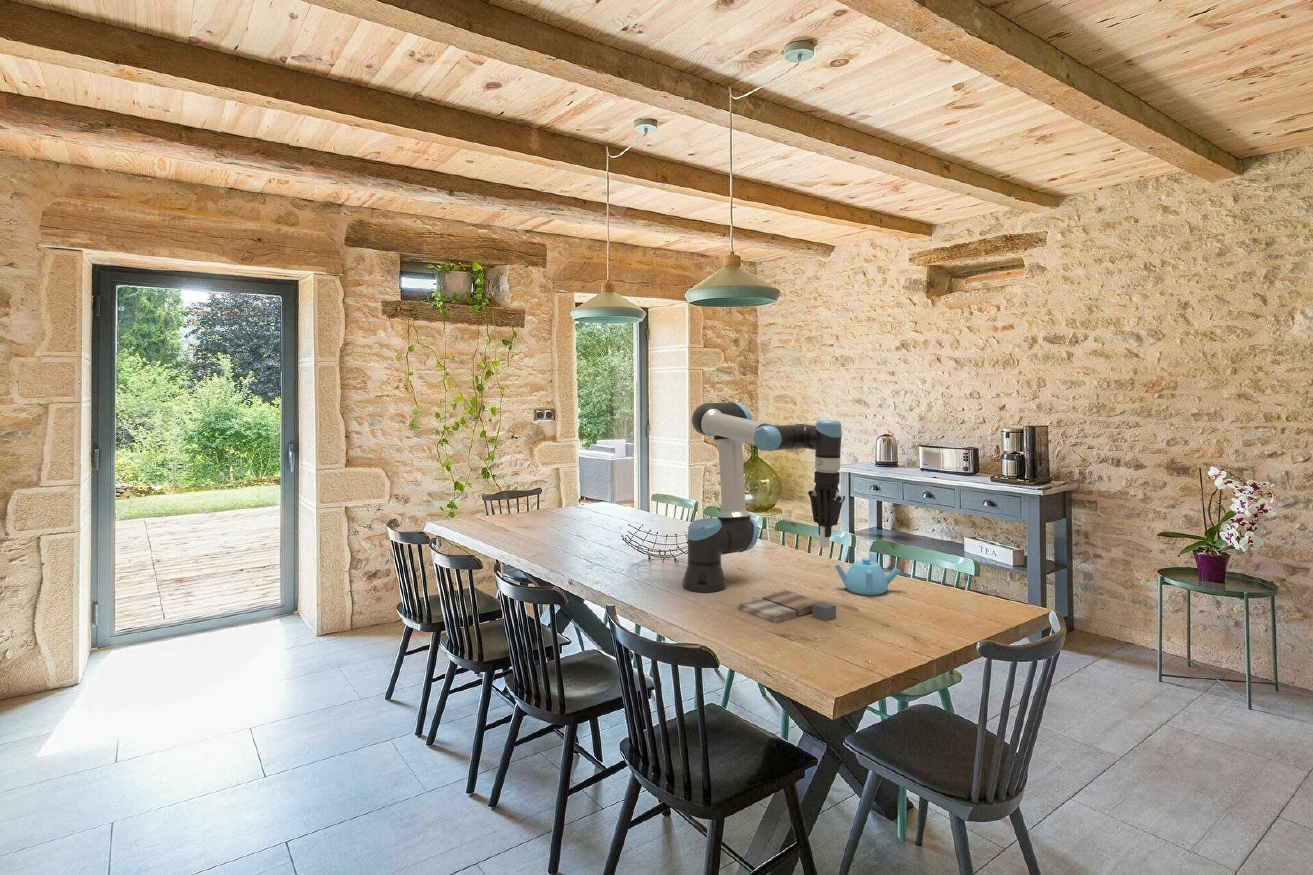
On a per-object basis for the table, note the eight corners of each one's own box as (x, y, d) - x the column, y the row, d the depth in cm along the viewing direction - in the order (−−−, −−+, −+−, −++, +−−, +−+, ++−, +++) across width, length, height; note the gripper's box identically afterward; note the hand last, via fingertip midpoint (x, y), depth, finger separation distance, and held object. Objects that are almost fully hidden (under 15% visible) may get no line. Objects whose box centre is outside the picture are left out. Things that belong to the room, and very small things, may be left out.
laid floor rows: (738, 609, 221) (738, 602, 221) (759, 604, 226) (759, 597, 226) (774, 622, 208) (775, 616, 208) (796, 617, 213) (796, 610, 213)
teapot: (876, 600, 230) (877, 567, 229) (832, 589, 243) (833, 557, 242) (901, 592, 240) (902, 559, 239) (858, 581, 253) (858, 551, 252)
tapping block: (812, 616, 214) (812, 604, 213) (823, 613, 217) (823, 601, 216) (824, 621, 210) (825, 608, 209) (836, 618, 212) (836, 605, 212)
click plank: (762, 603, 227) (762, 597, 226) (784, 595, 232) (784, 589, 232) (799, 616, 214) (798, 609, 213) (821, 607, 219) (821, 601, 219)
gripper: (802, 469, 216) (800, 543, 218) (835, 474, 205) (832, 553, 207) (819, 467, 220) (816, 540, 222) (852, 472, 209) (849, 549, 212)
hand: (824, 546), depth 215 cm, fingers closed
